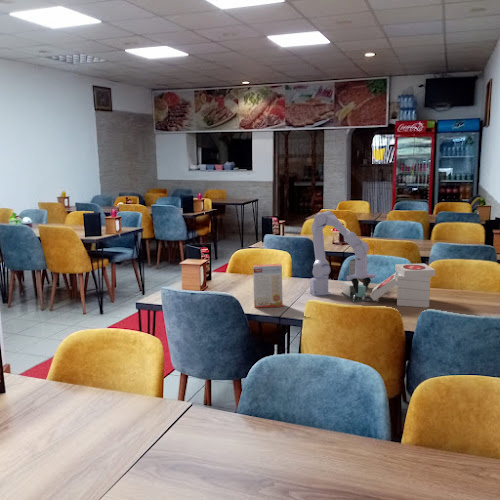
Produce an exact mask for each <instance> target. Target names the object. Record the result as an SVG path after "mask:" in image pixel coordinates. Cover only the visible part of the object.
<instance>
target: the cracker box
mask: <svg viewBox="0 0 500 500" xmlns="http://www.w3.org/2000/svg"><path fill="white" fill-rule="evenodd" d="M252 275H253V277H252V279H253V282H252V283H253V305H254V308H255V309H257V308H259V309H260V308H261V309H262V308H282V307H283V306H284V305H283V300H284V299H283V266H282V264H281V263H263V264H262V263H261V264H253V265H252Z"/></svg>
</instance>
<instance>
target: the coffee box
mask: <svg viewBox="0 0 500 500" xmlns="http://www.w3.org/2000/svg"><path fill="white" fill-rule="evenodd" d="M354 274H355V258H354V259H350V260H349V273H348V275H354ZM357 280H358V281H360V282H362V283H363V279H357ZM348 281H351V280H348Z"/></svg>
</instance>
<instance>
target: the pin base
mask: <svg viewBox="0 0 500 500" xmlns="http://www.w3.org/2000/svg"><path fill="white" fill-rule="evenodd" d="M340 294H341V295H343V296H344V297H345V298H347V299H349V300H350V301H351V302H353V303H361V302H362V303H363V302H373V301H374V300H373V299H372V298H371V297H370V295H368V294H367V293H366V296H362V297H358V296H356V295H355V292H351V293H350V297H349V296H348V295H346V294H345V293H343V291H341V292H340Z"/></svg>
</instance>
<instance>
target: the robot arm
mask: <svg viewBox="0 0 500 500" xmlns="http://www.w3.org/2000/svg"><path fill="white" fill-rule="evenodd" d="M326 226H329V227H330V226H331V227H333V228H334V229H336V231H337V232H339V233H340V234H341V235H342V237H343V240H344V241H345V242H346V244H348V245H349V246H350V247H351V248H352V251H353V253H354V259H355V274H354V275H349V274H348V275H346V281H349V280H351V281H352V283H353V286H354V289H355V293H358V284H359V281H358V280H357V279H363V285H364V286H365V287H366V292H367V290H368V287H369V285H370V283H371V282H372V280H371V279H375V278H376V274H374V273H368V271H367V268H368V265H367V263H368V252H369V250H370V247H369V245H368V243H367V242H365V241H363V239H361V238H359V237H358V235H357V233H356V232H354V231H349V229H347V227H345V226H344V224H343V223H342V222H341V221H340V220H339V219H338V217H337V216H336V215H335V214H334V213H333V212H332V211H331V210H326V211H323V212H318V213H317V214H315V215H314V217H313V222H312V225H311V232H312V233H311V235H312V241H313V251H314V258H315V261H314V263H313V264H312V267H313V268H312V275H313V277H311V278H310V280H309V294H311V295H313V297H314V296H315V297H319V296H330V295H331V292H329V275H330V273H331V272H332V271H331V266H330V264H329V261H328V260H327V259H326V252H325V251H326V249H325V241H324V233H323V230H324V228H325V227H326Z"/></svg>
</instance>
